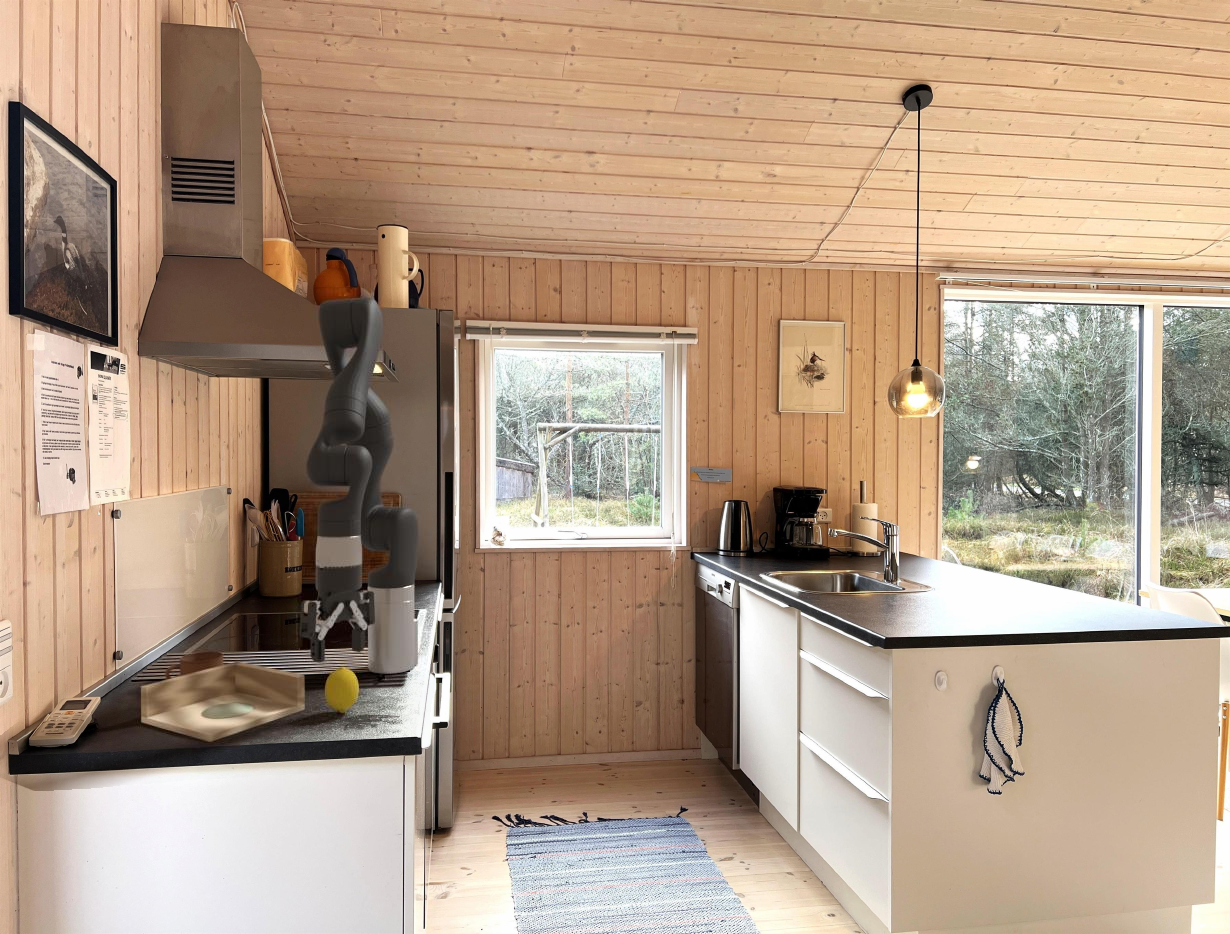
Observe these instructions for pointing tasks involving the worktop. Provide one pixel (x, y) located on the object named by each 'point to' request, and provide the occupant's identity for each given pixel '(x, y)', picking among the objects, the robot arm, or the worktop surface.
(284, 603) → the worktop surface
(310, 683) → the worktop surface
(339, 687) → the lemon
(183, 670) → the cup and saucer
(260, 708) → the tray
